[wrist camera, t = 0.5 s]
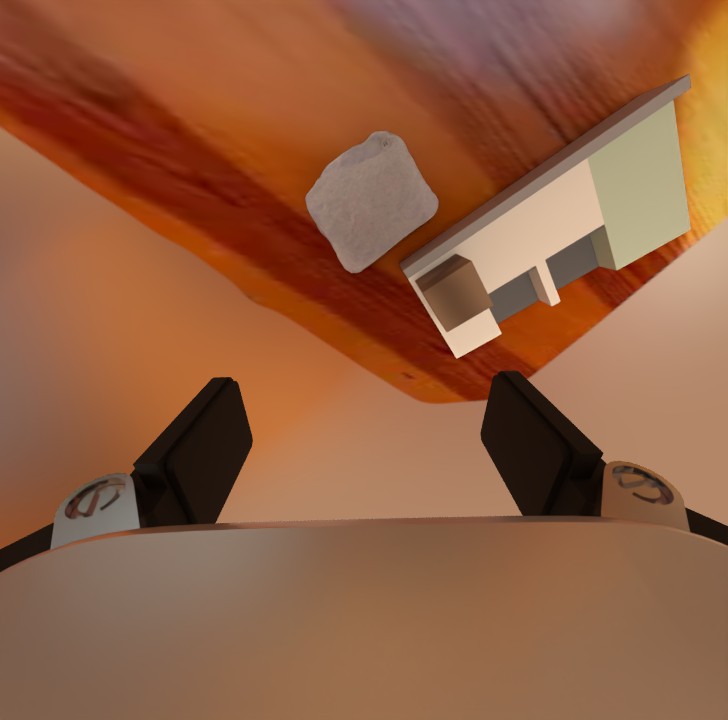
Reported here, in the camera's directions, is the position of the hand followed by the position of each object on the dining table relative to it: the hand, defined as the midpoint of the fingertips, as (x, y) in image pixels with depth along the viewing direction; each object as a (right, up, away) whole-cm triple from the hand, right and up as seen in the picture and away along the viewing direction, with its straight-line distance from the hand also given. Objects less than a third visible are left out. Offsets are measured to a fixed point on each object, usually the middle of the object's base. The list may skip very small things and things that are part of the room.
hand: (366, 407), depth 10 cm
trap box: (+19, +15, +21) cm, 32 cm away
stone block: (0, +19, +20) cm, 27 cm away
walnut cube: (+9, +10, +21) cm, 25 cm away
